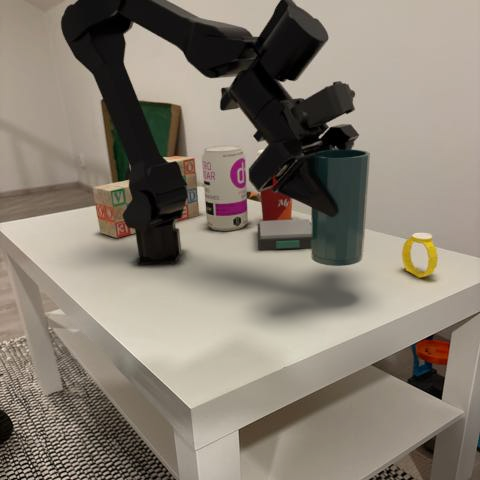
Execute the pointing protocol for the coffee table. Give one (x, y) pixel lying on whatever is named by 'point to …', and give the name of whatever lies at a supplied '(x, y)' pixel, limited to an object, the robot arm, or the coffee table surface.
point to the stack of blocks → (118, 198)
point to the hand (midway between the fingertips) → (348, 208)
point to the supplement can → (225, 187)
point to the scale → (284, 234)
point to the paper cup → (275, 203)
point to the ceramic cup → (341, 207)
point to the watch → (431, 251)
